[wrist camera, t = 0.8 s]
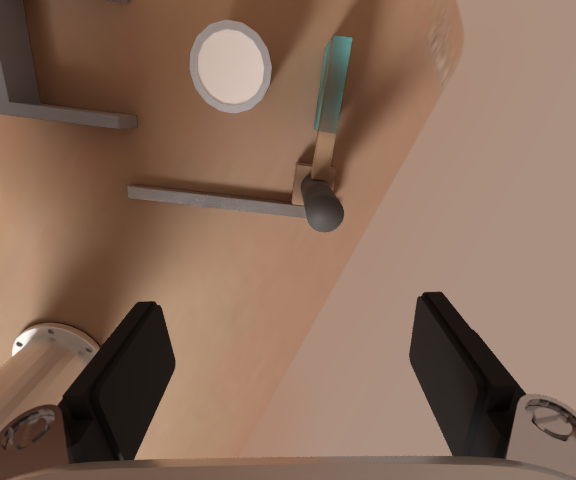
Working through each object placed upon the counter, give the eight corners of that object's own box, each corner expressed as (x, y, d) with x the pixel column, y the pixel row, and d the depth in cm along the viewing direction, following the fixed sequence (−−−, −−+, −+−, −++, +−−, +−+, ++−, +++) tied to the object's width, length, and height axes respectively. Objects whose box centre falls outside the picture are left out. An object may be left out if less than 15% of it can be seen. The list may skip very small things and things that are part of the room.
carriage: (327, 203, 37) (346, 242, 26) (291, 199, 36) (294, 237, 25) (354, 52, 31) (394, 18, 20) (311, 46, 30) (326, 7, 19)
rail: (331, 217, 38) (332, 221, 37) (133, 195, 36) (128, 198, 35) (333, 207, 37) (334, 209, 36) (132, 184, 36) (127, 186, 35)
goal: (137, 127, 33) (119, 128, 30) (31, 114, 33) (-2, 114, 29) (128, -12, 29) (105, -31, 25) (4, -31, 28) (-38, -53, 24)
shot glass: (287, 75, 32) (288, 65, 25) (245, 127, 34) (236, 130, 27) (236, 22, 30) (223, -4, 23) (194, 80, 32) (172, 71, 25)
